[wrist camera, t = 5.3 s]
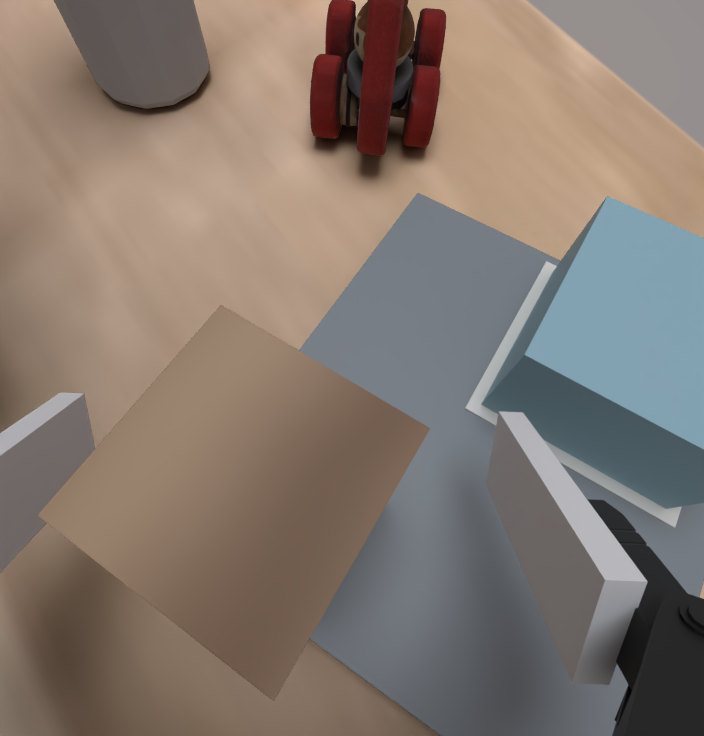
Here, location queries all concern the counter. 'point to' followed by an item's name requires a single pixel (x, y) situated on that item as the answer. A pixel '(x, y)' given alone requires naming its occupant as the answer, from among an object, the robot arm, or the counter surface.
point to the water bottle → (140, 48)
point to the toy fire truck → (378, 73)
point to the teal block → (619, 356)
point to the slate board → (462, 493)
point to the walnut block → (239, 493)
